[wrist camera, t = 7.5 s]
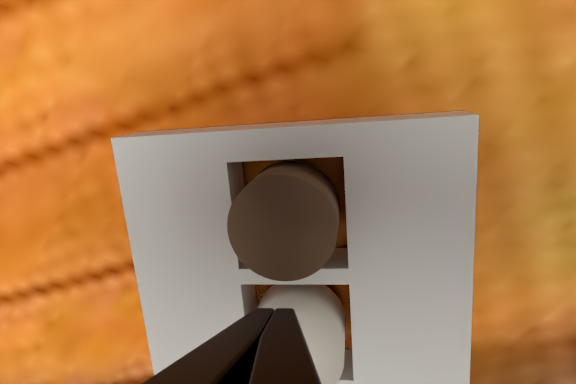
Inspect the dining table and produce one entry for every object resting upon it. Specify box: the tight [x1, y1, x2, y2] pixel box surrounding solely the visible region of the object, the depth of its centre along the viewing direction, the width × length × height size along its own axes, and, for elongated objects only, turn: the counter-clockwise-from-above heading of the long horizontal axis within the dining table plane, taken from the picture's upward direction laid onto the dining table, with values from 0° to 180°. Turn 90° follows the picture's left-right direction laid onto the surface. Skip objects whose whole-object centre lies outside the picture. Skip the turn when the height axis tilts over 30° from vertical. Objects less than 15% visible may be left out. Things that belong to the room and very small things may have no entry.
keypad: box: [111, 110, 479, 384], centre depth 21 cm, size 16×20×2 cm
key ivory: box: [257, 285, 346, 384], centre depth 20 cm, size 5×5×3 cm
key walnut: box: [227, 161, 340, 281], centre depth 19 cm, size 5×5×3 cm
